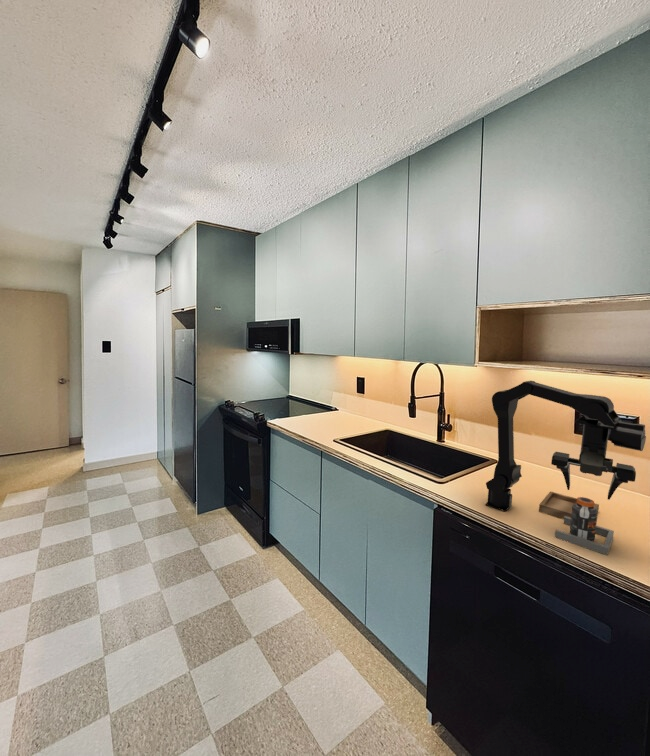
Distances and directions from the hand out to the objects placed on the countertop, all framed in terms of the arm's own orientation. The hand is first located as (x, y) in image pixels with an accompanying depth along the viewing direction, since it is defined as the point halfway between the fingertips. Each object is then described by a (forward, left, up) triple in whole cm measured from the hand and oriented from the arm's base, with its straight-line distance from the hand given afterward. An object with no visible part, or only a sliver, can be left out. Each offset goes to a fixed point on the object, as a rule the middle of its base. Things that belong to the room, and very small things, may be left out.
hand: (587, 494), depth 102 cm
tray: (-6, +14, -13) cm, 20 cm away
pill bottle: (0, -1, -13) cm, 13 cm away
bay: (0, -1, -13) cm, 13 cm away
